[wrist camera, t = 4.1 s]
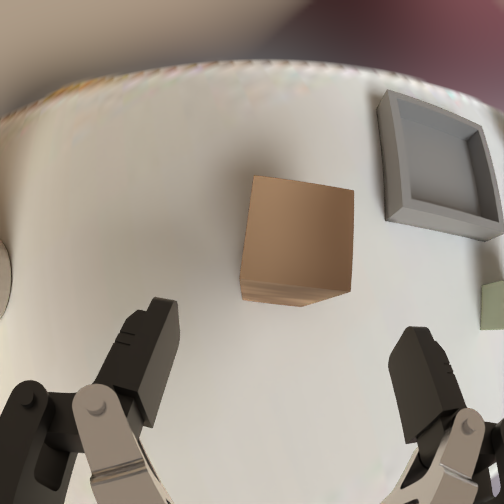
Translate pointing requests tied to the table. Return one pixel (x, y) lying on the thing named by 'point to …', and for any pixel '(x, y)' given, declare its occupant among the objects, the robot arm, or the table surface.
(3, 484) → the robot arm
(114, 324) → the table surface
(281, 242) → the walnut block
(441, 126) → the desk tray
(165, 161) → the table surface
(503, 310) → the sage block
